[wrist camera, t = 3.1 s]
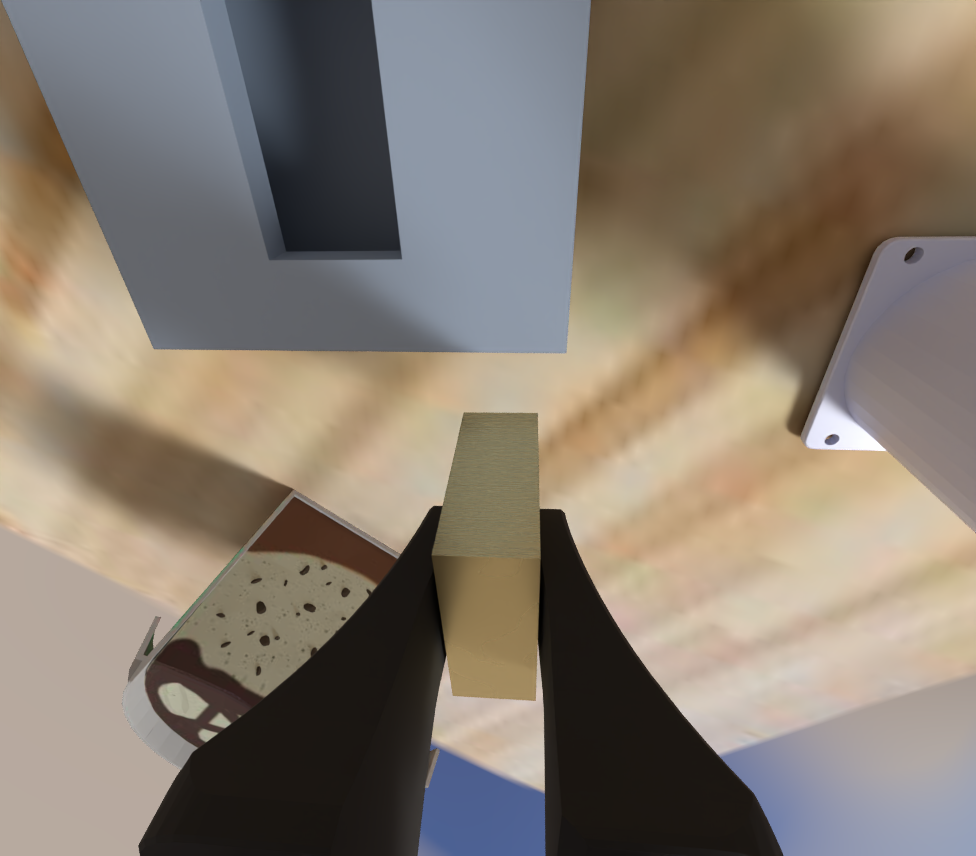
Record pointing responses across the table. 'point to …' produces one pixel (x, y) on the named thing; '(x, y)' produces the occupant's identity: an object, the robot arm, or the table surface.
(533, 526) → the block
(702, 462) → the table surface
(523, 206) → the coin box
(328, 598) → the food container
